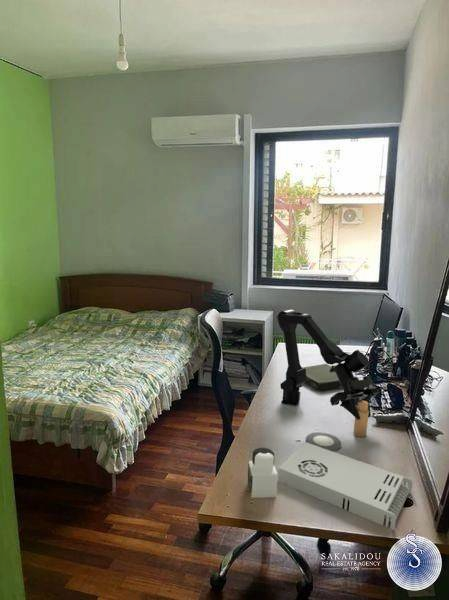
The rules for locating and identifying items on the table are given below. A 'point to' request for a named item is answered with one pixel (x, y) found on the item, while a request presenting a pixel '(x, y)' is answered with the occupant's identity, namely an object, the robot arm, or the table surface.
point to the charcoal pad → (324, 441)
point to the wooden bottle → (361, 419)
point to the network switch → (321, 377)
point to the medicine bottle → (262, 474)
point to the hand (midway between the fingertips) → (364, 418)
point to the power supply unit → (346, 483)
